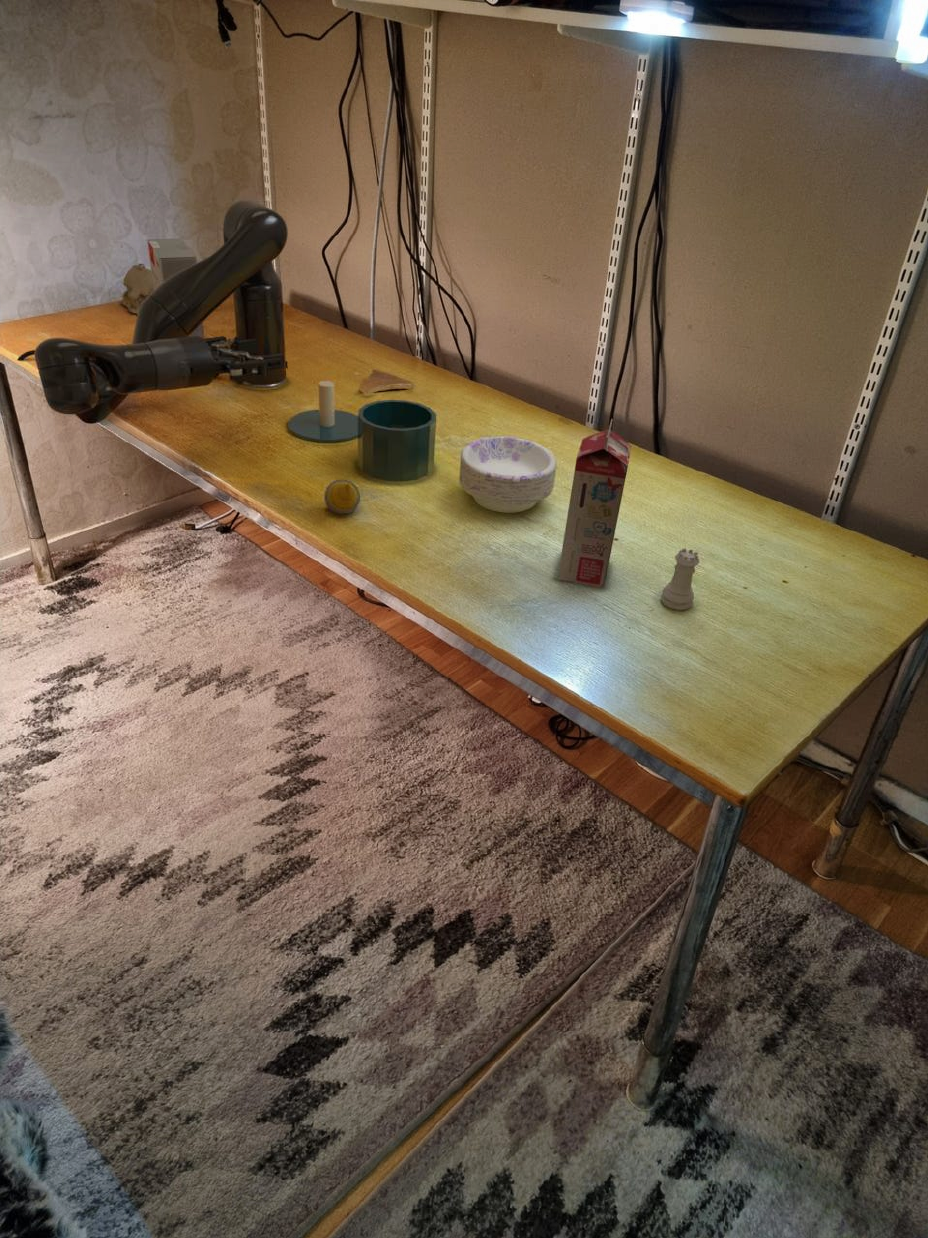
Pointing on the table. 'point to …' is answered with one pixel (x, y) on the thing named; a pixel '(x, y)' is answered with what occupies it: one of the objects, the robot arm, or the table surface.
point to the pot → (396, 440)
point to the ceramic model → (137, 287)
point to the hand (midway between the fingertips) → (269, 353)
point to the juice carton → (594, 508)
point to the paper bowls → (507, 473)
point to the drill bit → (342, 497)
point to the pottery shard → (383, 382)
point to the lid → (325, 420)
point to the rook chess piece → (681, 582)
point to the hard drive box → (170, 263)
